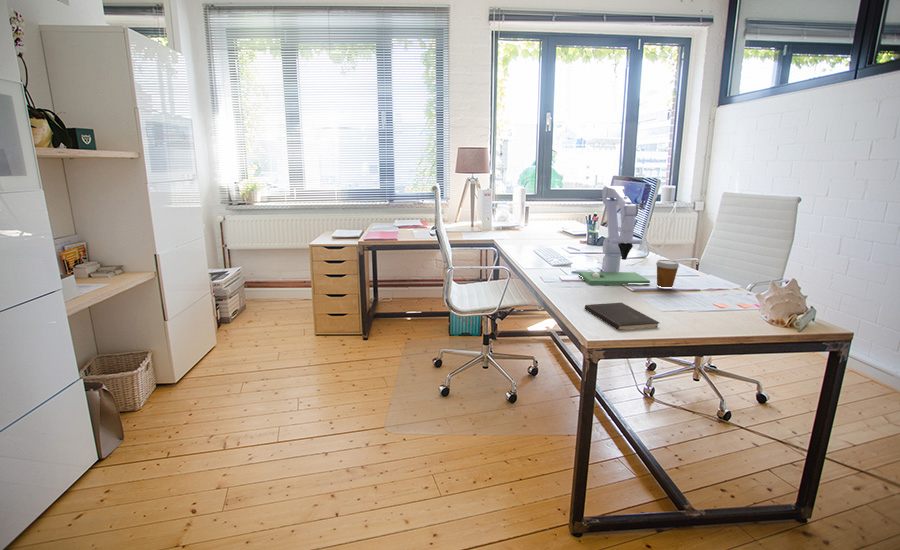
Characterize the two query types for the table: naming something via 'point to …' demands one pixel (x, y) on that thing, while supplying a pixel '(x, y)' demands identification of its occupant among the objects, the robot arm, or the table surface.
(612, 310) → the hardcover book
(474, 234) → the table surface
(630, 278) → the putting mat
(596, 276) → the ball
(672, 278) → the disposable coffee cup
